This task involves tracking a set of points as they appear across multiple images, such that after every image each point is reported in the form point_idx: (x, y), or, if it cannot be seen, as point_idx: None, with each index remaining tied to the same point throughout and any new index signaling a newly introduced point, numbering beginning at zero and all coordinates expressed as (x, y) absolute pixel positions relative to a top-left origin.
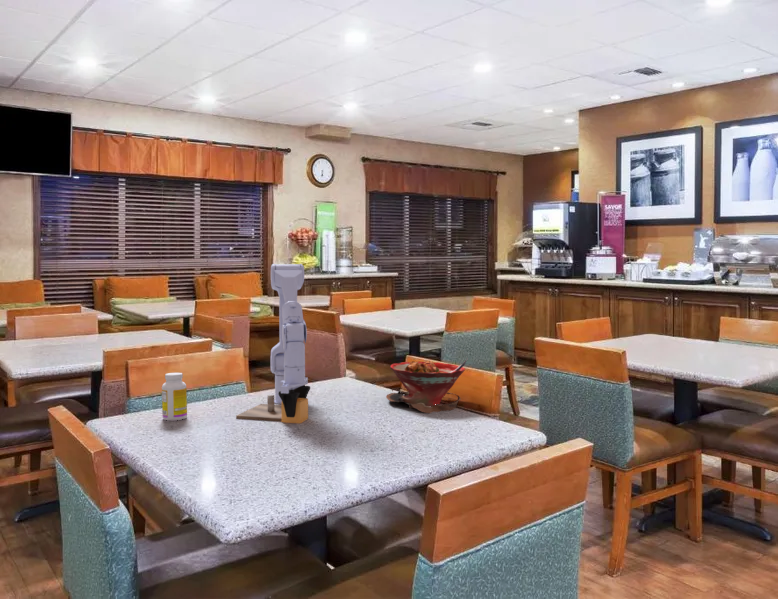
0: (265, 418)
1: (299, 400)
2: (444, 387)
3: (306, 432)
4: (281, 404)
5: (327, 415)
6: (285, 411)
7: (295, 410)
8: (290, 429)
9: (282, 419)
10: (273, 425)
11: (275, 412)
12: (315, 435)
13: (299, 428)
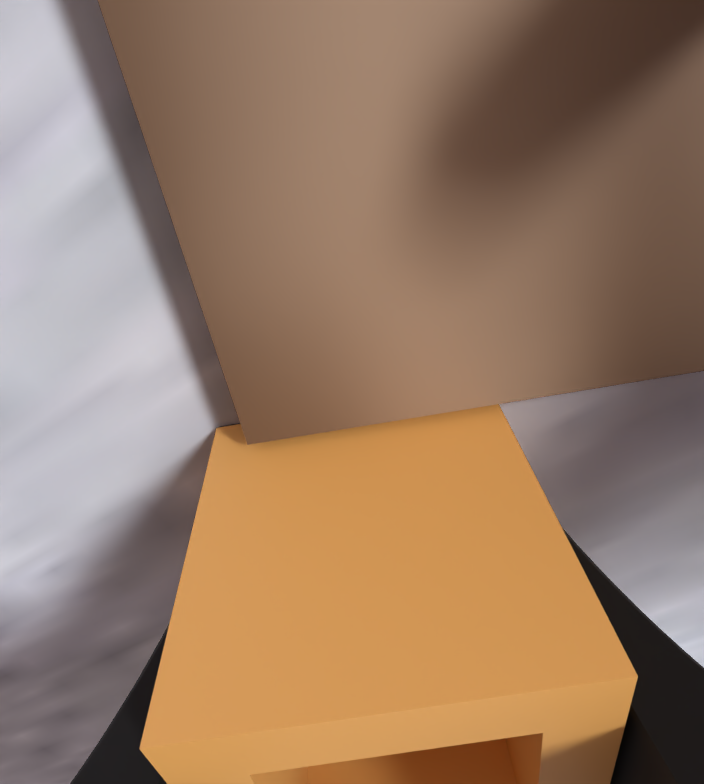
0: (158, 158)
1: (523, 772)
2: None
3: (73, 724)
4: (161, 671)
5: (699, 608)
6: (167, 630)
7: None
8: (52, 617)
9: (212, 469)
10: (48, 411)
11: (620, 90)
12: (53, 779)
13: (138, 649)
